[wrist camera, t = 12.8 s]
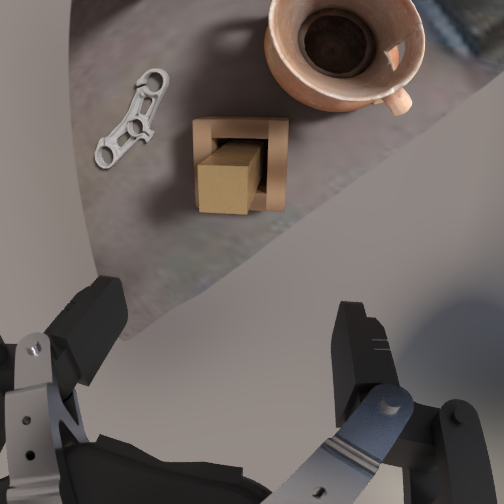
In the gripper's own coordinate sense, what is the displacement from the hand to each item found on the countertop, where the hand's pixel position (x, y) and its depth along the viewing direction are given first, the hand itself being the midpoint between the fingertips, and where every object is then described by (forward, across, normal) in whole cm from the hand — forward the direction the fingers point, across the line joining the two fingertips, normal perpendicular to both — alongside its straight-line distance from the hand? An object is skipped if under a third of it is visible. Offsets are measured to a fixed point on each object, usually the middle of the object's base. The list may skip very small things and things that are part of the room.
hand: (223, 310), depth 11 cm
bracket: (+30, +18, -4) cm, 35 cm away
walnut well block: (+29, +3, 0) cm, 29 cm away
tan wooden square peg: (+29, +3, 0) cm, 29 cm away
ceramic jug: (+30, -6, -14) cm, 33 cm away
